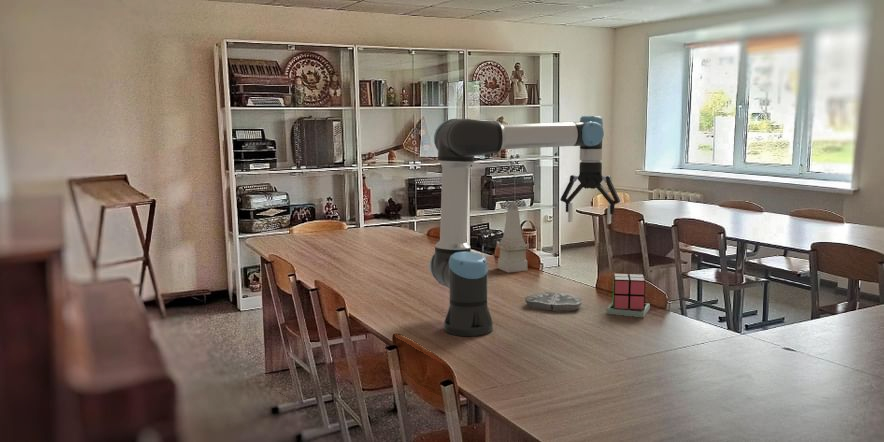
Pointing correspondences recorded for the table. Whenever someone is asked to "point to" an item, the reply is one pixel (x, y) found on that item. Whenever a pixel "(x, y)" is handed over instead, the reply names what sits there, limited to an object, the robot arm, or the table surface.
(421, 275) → the table surface
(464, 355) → the table surface
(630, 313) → the coaster
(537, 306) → the brain slice
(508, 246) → the miniature monument
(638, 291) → the puzzle cube
